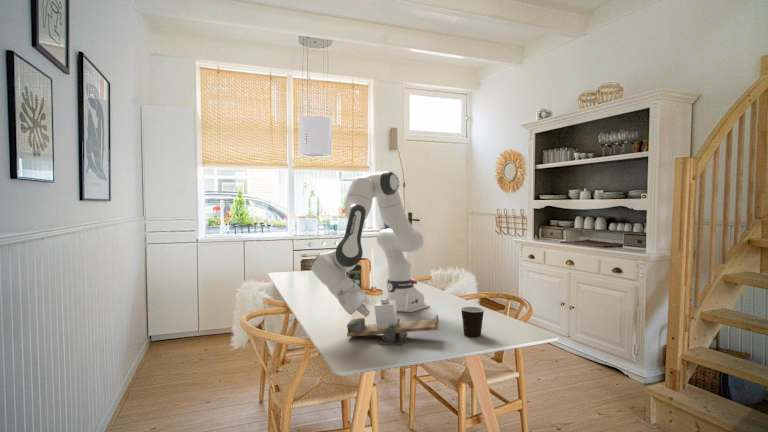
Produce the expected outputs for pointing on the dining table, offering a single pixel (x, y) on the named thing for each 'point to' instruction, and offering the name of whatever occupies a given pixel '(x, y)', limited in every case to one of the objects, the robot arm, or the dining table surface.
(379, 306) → the block
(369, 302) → the dining table surface
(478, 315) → the coffee mug
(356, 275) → the coffee jar
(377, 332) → the beam
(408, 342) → the dining table surface
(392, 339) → the fulcrum
